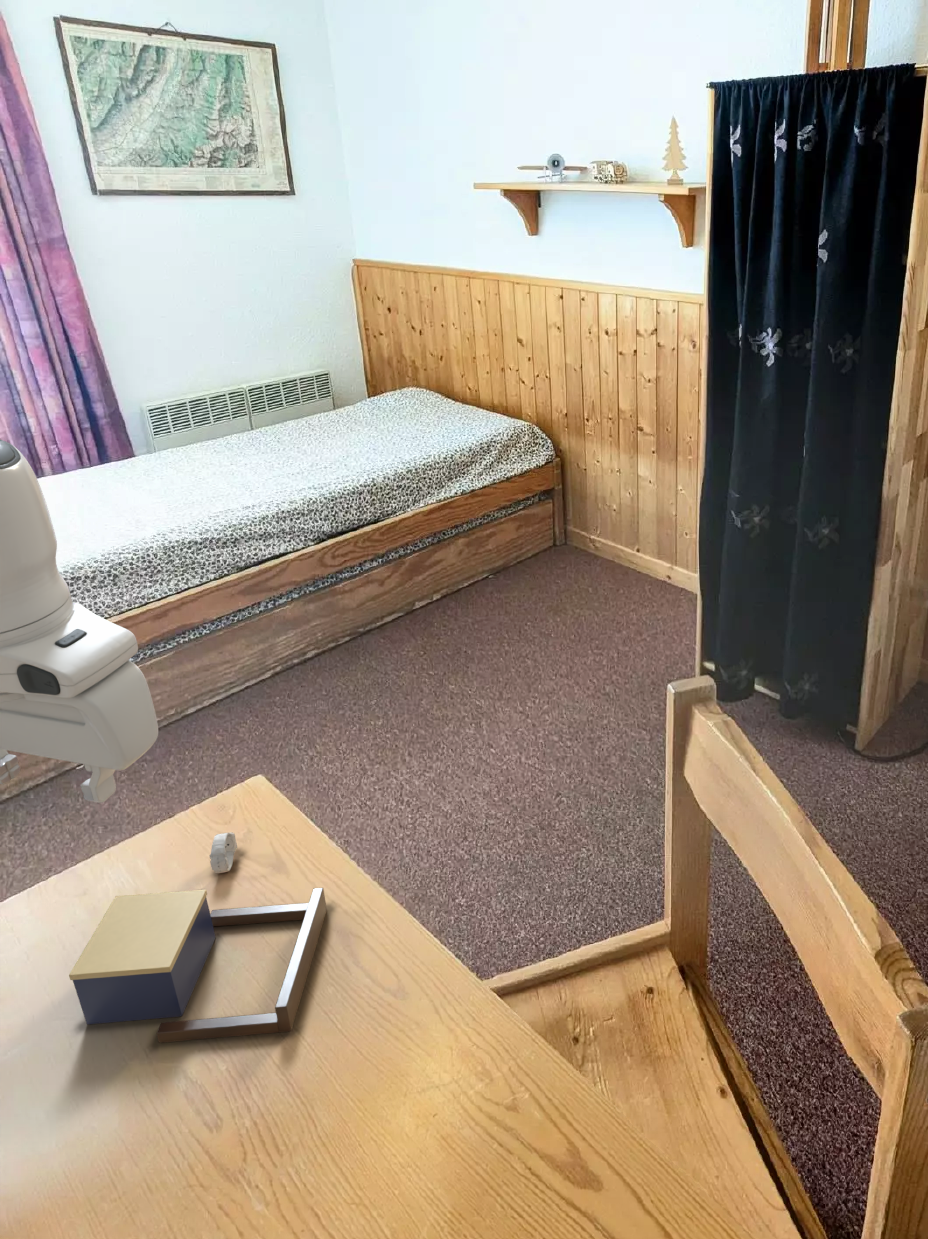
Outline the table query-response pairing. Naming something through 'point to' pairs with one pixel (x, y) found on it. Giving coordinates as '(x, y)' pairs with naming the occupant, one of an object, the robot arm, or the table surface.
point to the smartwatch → (223, 852)
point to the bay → (291, 985)
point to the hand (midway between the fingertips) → (52, 787)
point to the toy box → (144, 957)
